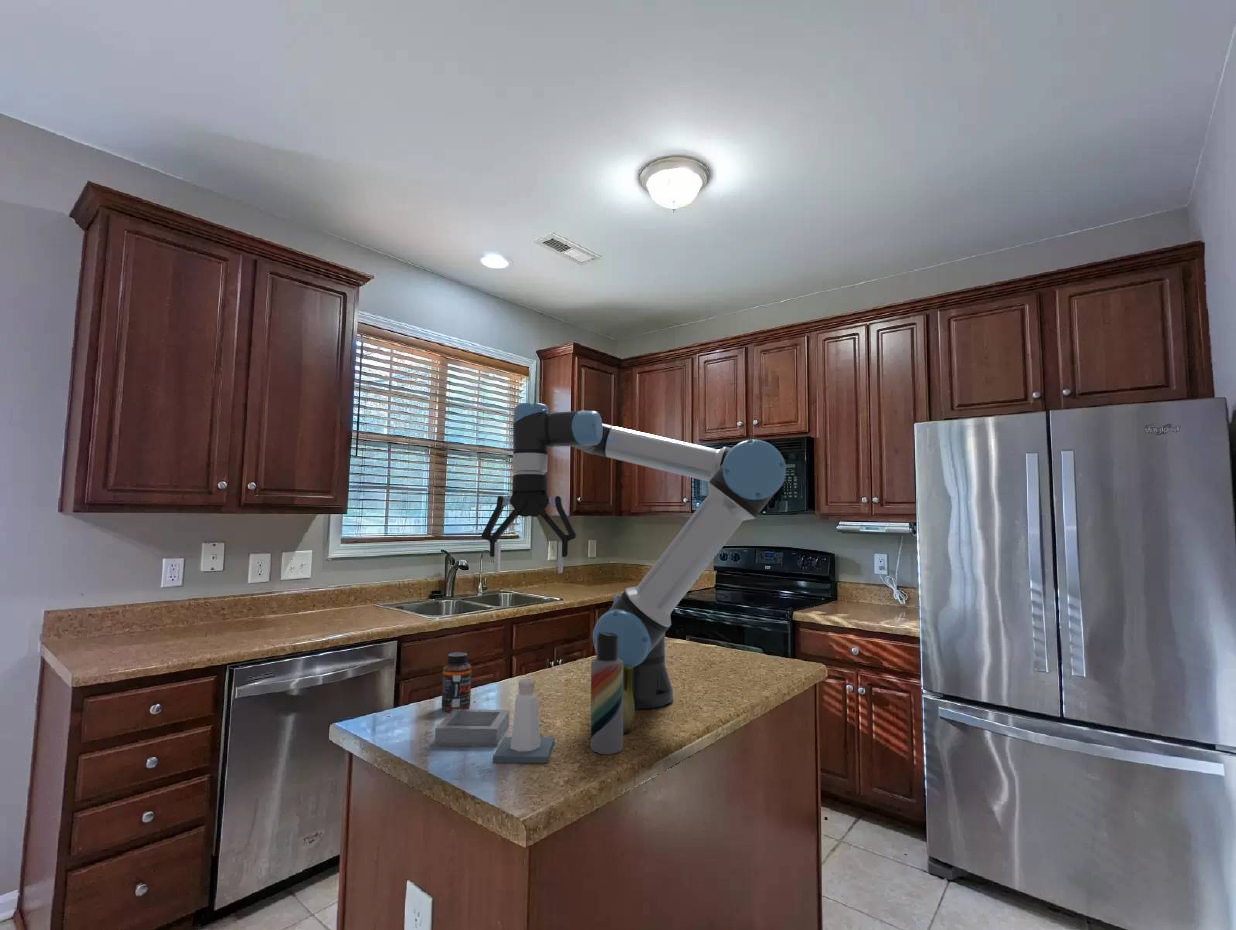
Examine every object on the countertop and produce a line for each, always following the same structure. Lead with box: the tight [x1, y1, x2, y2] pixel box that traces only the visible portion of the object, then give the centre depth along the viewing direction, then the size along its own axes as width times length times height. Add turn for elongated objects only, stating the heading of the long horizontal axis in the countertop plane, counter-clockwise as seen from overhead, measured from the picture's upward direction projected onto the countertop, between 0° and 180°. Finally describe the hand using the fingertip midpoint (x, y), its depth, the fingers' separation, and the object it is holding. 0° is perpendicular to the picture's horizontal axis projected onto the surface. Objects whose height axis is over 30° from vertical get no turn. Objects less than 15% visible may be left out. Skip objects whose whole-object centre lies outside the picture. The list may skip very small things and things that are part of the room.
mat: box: [492, 736, 555, 764], centre depth 104 cm, size 9×9×1 cm
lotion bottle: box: [590, 632, 624, 755], centre depth 106 cm, size 6×6×20 cm
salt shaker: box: [510, 678, 541, 752], centre depth 104 cm, size 5×5×11 cm
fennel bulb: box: [623, 666, 636, 735], centre depth 115 cm, size 6×5×12 cm
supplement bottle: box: [441, 651, 472, 713], centre depth 129 cm, size 6×6×11 cm
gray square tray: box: [434, 708, 510, 748], centre depth 112 cm, size 11×11×3 cm
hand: (528, 572), depth 130 cm, fingers open, 13 cm apart
